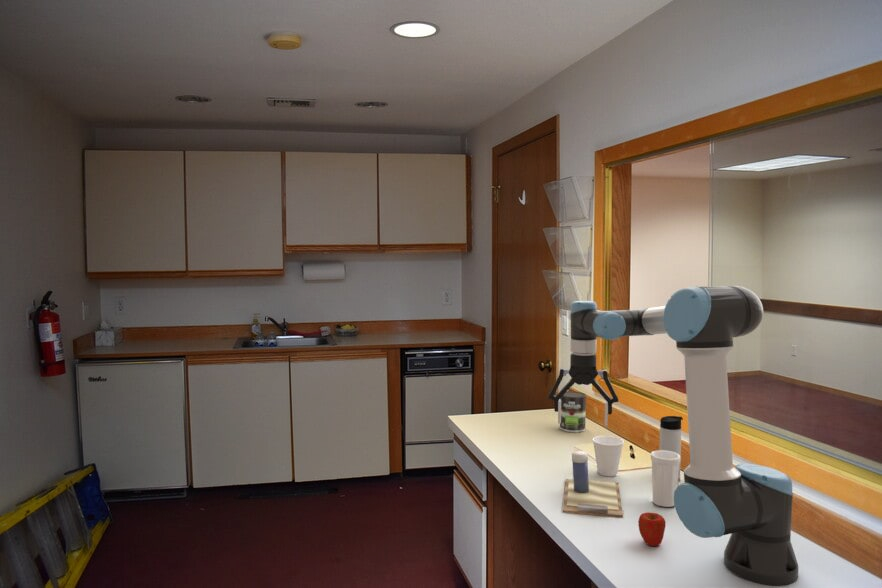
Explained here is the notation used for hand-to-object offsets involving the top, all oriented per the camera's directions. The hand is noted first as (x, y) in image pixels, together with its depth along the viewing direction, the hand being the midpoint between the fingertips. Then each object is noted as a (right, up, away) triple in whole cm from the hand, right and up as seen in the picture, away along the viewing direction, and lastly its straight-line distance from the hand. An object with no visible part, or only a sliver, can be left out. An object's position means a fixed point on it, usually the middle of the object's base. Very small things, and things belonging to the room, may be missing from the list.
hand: (582, 423), depth 188 cm
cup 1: (+11, -19, +15) cm, 27 cm away
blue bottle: (-1, -20, -1) cm, 20 cm away
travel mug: (+30, -20, +10) cm, 37 cm away
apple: (+10, -23, -32) cm, 41 cm away
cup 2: (+21, -21, -8) cm, 31 cm away
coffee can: (+11, -16, +65) cm, 67 cm away
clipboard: (+2, -21, -4) cm, 21 cm away
